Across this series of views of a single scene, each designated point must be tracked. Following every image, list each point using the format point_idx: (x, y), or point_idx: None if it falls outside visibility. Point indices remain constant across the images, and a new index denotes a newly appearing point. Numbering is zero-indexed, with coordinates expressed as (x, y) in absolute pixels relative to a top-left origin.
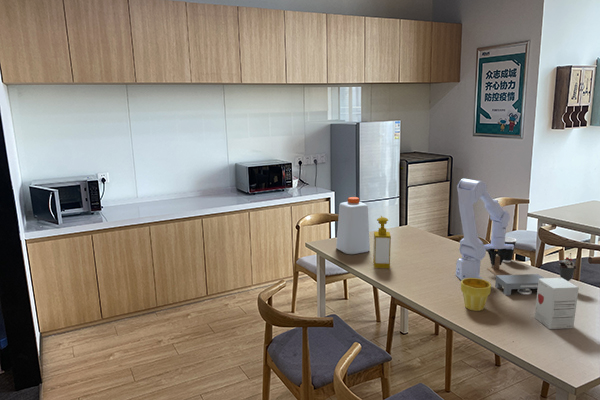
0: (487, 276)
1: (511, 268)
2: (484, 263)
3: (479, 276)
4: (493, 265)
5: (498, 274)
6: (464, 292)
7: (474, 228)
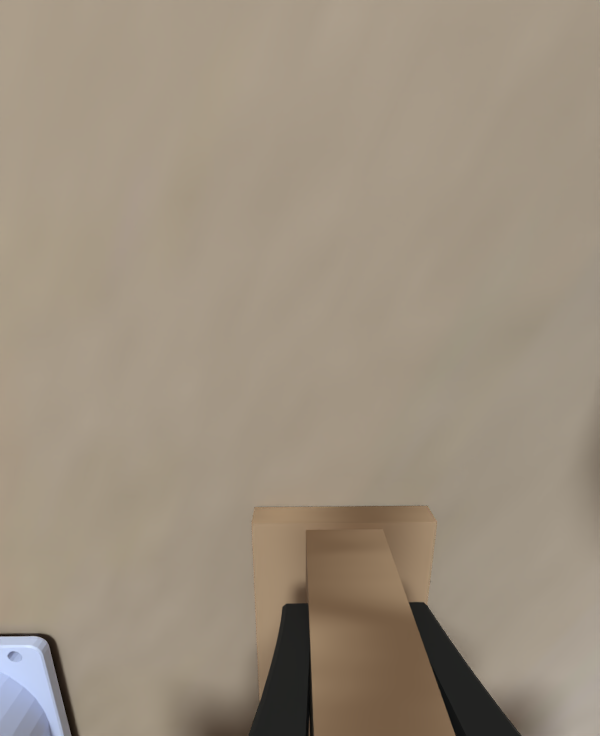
0: (165, 686)
1: (586, 497)
2: (324, 272)
3: (55, 731)
4: None
5: None
6: None
7: None
